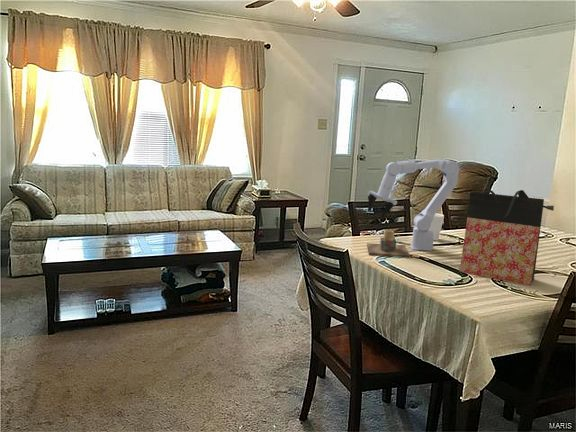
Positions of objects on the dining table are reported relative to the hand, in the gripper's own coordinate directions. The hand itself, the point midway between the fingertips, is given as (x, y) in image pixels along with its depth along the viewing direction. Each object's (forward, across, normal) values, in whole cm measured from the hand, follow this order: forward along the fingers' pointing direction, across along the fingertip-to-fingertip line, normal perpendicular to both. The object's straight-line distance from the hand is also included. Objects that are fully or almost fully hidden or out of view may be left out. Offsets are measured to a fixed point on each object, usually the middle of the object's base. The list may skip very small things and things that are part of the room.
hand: (376, 213), depth 221 cm
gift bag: (+3, +61, -8) cm, 62 cm away
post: (+12, +12, -2) cm, 18 cm away
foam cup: (+6, +19, +37) cm, 42 cm away
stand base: (+14, +12, -2) cm, 19 cm away
